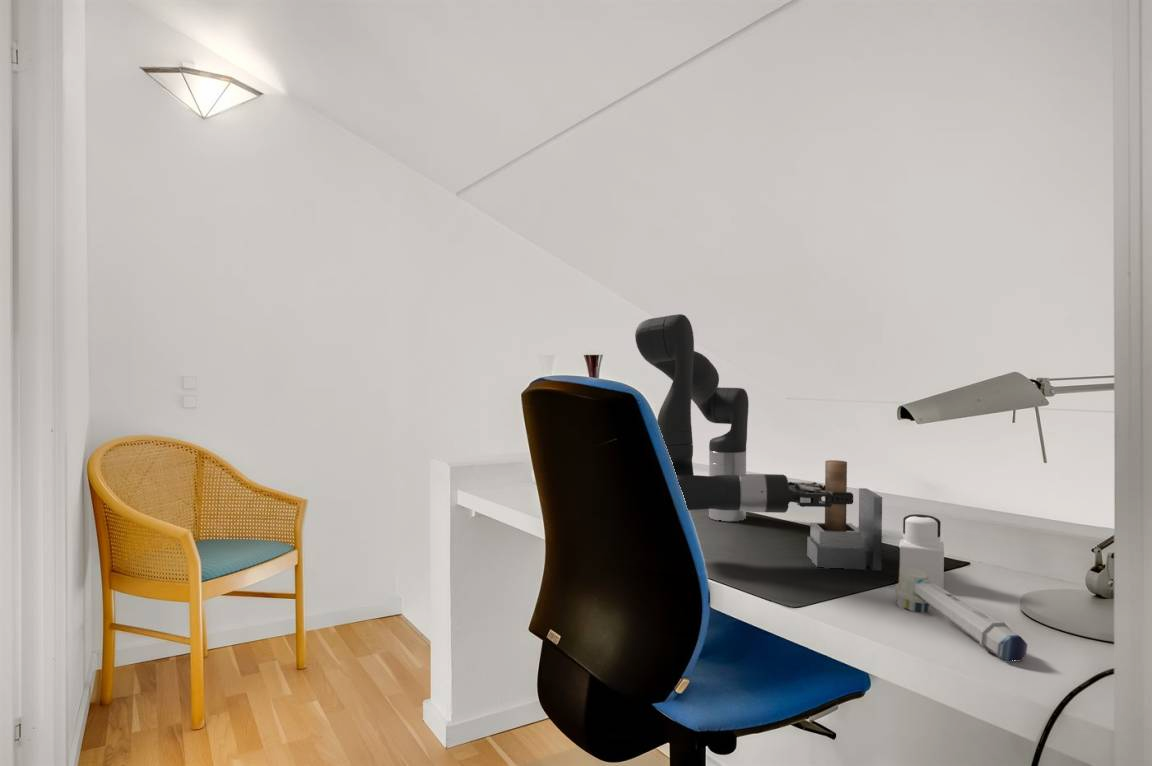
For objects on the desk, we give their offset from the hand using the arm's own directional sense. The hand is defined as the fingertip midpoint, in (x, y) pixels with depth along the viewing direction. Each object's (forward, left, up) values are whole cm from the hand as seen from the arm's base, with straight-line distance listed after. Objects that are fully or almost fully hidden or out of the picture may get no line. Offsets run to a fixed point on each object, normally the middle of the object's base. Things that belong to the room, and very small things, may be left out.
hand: (847, 494), depth 144 cm
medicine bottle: (+12, +10, -14) cm, 21 cm away
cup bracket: (0, -1, -14) cm, 14 cm away
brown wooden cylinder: (0, -2, -10) cm, 10 cm away
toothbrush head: (+35, +6, -14) cm, 38 cm away
